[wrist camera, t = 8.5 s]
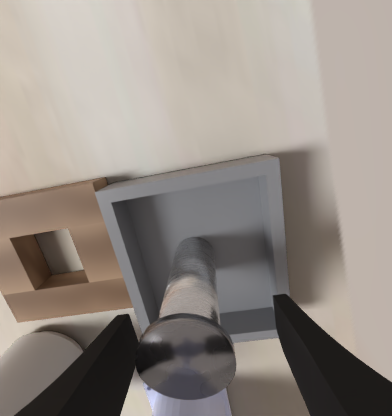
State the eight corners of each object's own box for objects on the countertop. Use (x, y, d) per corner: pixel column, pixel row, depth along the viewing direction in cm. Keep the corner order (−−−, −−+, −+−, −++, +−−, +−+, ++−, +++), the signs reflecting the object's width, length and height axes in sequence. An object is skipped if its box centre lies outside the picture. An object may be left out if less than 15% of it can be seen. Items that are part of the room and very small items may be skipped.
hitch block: (141, 290, 19) (134, 307, 17) (35, 304, 20) (17, 322, 18) (105, 177, 16) (92, 182, 14) (-17, 200, 17) (-45, 208, 15)
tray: (279, 306, 19) (292, 336, 16) (156, 321, 20) (148, 352, 17) (265, 153, 15) (279, 158, 12) (114, 182, 16) (94, 192, 13)
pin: (225, 273, 17) (242, 395, 9) (175, 280, 18) (150, 403, 10) (216, 226, 16) (227, 318, 8) (163, 235, 17) (122, 332, 8)
